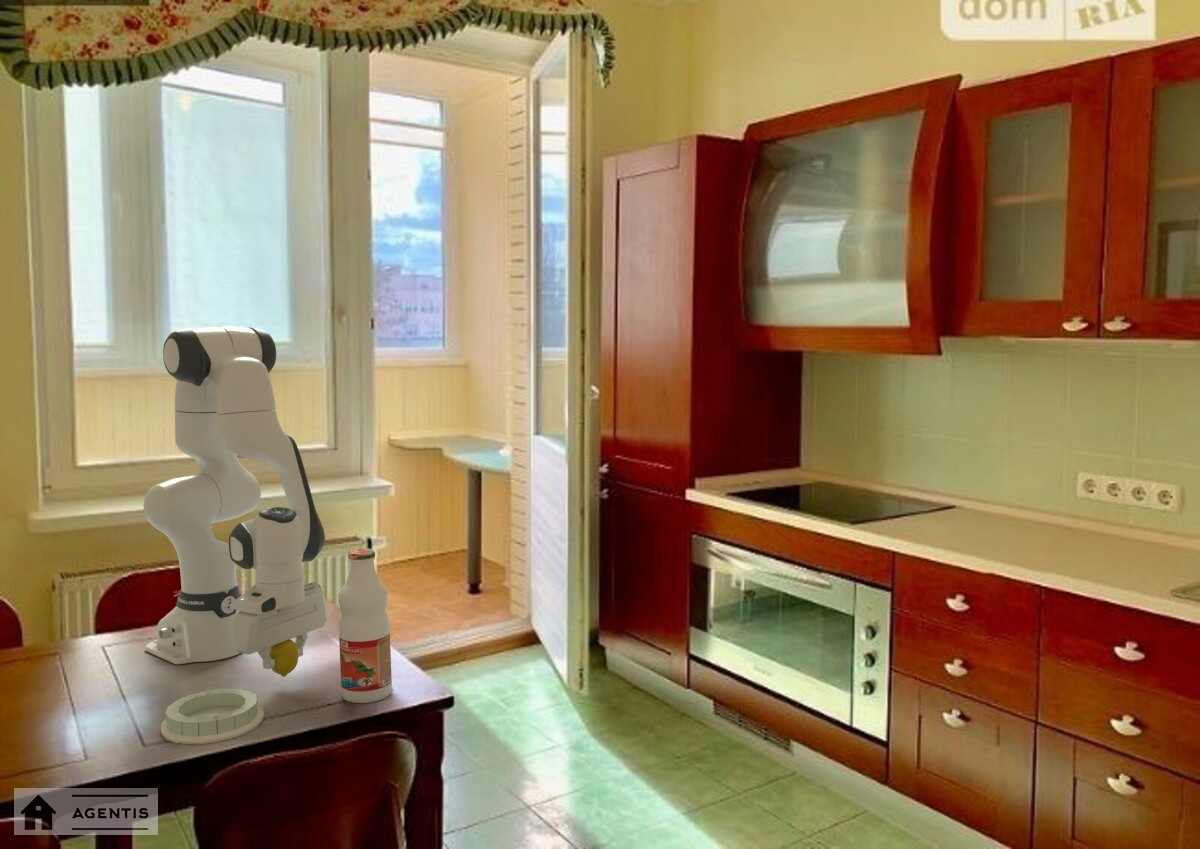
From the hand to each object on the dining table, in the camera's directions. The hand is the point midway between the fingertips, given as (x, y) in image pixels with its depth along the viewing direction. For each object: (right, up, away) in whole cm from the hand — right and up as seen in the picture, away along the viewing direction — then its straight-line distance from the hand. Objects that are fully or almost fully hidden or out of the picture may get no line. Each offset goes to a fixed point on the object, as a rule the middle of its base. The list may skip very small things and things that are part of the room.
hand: (283, 661), depth 188 cm
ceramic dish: (-7, -7, -16) cm, 19 cm away
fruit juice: (+17, -6, -3) cm, 18 cm away
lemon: (0, -3, 0) cm, 3 cm away
